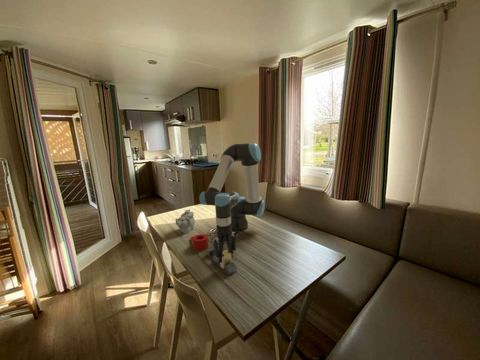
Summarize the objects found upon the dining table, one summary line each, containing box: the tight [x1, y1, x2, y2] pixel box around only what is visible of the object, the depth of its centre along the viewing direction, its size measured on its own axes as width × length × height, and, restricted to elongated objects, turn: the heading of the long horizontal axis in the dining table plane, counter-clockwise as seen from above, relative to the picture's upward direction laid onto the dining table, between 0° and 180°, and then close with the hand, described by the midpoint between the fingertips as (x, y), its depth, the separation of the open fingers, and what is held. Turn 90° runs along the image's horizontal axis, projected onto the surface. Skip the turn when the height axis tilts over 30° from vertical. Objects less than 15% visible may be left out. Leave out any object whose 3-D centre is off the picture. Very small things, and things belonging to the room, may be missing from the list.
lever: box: [190, 233, 209, 252], centre depth 133 cm, size 18×9×7 cm, turn 37°
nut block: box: [222, 249, 231, 269], centre depth 107 cm, size 4×4×8 cm
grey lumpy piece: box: [174, 208, 196, 235], centre depth 151 cm, size 15×14×17 cm
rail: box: [206, 246, 237, 276], centre depth 112 cm, size 24×5×4 cm, turn 35°
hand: (226, 265), depth 107 cm, fingers closed on nut block, 4 cm apart
